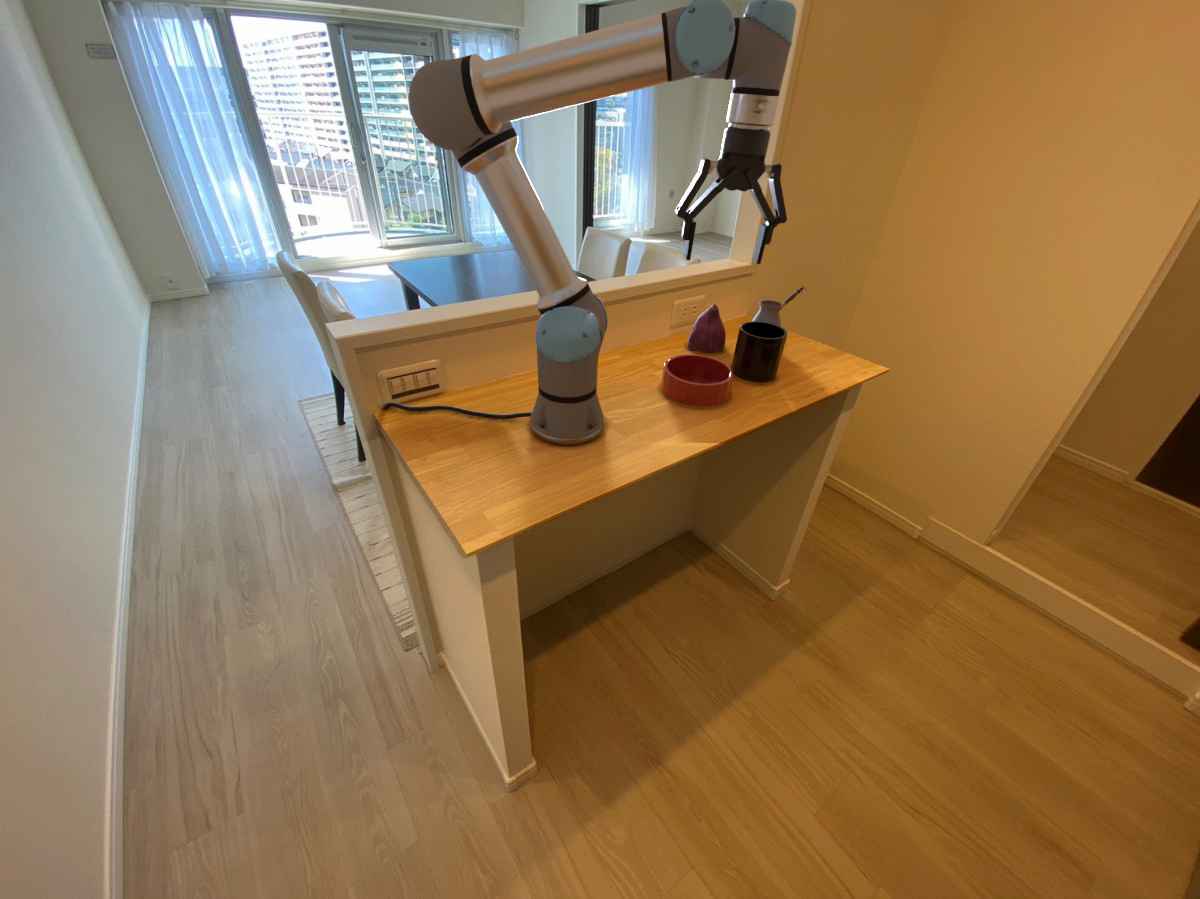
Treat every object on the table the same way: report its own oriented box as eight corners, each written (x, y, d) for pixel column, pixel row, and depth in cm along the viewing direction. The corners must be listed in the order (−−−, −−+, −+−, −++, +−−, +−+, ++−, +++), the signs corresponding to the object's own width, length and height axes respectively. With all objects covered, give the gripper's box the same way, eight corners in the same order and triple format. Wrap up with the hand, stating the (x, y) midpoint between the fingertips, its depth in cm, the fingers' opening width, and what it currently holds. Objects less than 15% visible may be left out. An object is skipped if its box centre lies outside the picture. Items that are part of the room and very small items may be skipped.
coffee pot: (765, 359, 134) (779, 305, 125) (731, 345, 141) (742, 293, 132) (807, 342, 145) (823, 291, 137) (774, 329, 152) (787, 280, 144)
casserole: (666, 408, 110) (669, 384, 107) (657, 375, 123) (660, 353, 120) (736, 409, 111) (741, 386, 108) (719, 377, 124) (724, 355, 121)
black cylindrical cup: (738, 387, 120) (749, 341, 113) (724, 361, 132) (733, 318, 125) (783, 388, 121) (796, 342, 114) (765, 362, 132) (776, 319, 125)
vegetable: (719, 366, 136) (737, 322, 125) (683, 357, 137) (698, 312, 125) (723, 343, 143) (740, 299, 131) (688, 335, 144) (702, 290, 132)
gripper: (678, 122, 77) (660, 262, 89) (830, 134, 79) (792, 268, 91) (670, 120, 83) (654, 251, 95) (811, 131, 85) (777, 258, 98)
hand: (721, 260), depth 93 cm, fingers open, 13 cm apart
